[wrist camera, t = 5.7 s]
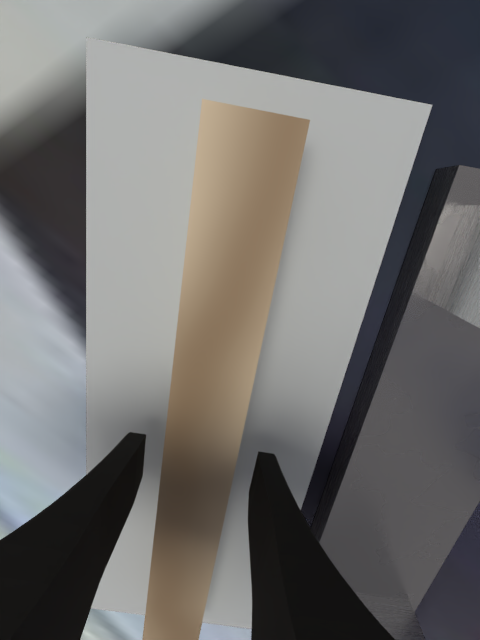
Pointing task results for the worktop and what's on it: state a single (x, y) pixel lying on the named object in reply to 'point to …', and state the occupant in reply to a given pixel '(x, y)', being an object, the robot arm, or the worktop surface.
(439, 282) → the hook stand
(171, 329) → the mat
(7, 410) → the worktop surface
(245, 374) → the rail
